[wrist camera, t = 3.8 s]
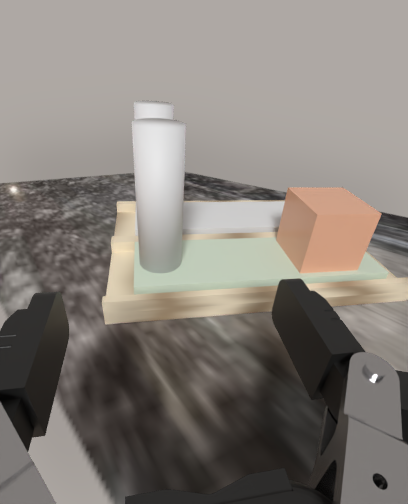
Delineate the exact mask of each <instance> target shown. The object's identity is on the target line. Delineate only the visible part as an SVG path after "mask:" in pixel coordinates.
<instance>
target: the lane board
mask: <svg viewBox="0 0 408 504" xmlns="http://www.w3.org/2000/svg"><path fill="white" fill-rule="evenodd" d="M274 201H285V200H258V201H183V202H274ZM117 212H118V213H117V220H116V227H115V235H114V236H113V237H112V239H111V247H112V257H111V264H110V271H109V279H108V286H107V294H106V296H103V299H102V306H103V312H104V319H105V324H118V323H130V322H143V321H156V320H168V319H181V318H194V317H206V316H219V315H231V314H244V313H257V312H269V311H272V307H273V303H274V299H275V295H276V292H277V288H278V286H262V287H246V288H230V289H214V290H198V291H182V292H166V293H150V294H134V253H135V242H138V236H135V213H136V201H127V202H117ZM277 234H278V232H256V233H220V234H185V235H182V240H206V239H237V238H269V237H277ZM366 252H367V251H366ZM367 253H368V252H367ZM368 254H369V253H368ZM369 255H370V256H371V257H372V258H373V259H374V260H376V259H375V258H374V257H373V256H372V255H371V254H369ZM376 261H377V260H376ZM377 262H378V263H379V264H380V265H381V266H382V267H383V268H385V267H384V266H383V265H382V264H381V263H380V262H379V261H377ZM385 269H386V268H385ZM386 270H387V271H388V272H389V273H388V275H387V277H386V279H374V280H358V281H342V282H326V283H310V284H306V286H307V287H308V288H309V290H310V291H316V292H317V293H318V294H320V295H321V296H322V297H324V298H325V299H326V300H327V301H328V303H329V304H330V305H331V307H333V306H345V305H358V304H371V303H383V302H396V301H407V300H408V277H406V278H397V277H395V276H394V275H393V274H392V273H391V272H390V271H389V270H388V269H386Z"/></svg>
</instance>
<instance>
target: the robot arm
mask: <svg viewBox="0 0 408 504" xmlns="http://www.w3.org/2000/svg"><path fill="white" fill-rule="evenodd" d="M272 319H273V322H274V325H275V327H276V329H277V331H278V333H279V335H280V337H281V339H282V341H283V343H284V345H285V347H286V349H287V351H288V353H289V355H290V357H291V359H292V361H293V363H294V366H295V368H296V370H297V372H298V374H299V376H300V378H301V380H302V382H303V384H304V386H305V388H306V390H307V392H308V394H309V396H310V398H311V400H314V399H321V398H324V400H325V402H326V404H327V405H326V407H325V410H324V416H323V422H322V427H321V433H320V439H319V444H318V450H317V456H316V461H315V465H314V468H313V471H312V474H311V477H310V480H309V484H308V486H307V485H305V484H303V483H300V482H296V481H293V480H289V479H288V476H287V473H286V470H285V468H281V469H275V470H270V471H264V472H259V473H253V474H248V475H246V476H245V477H243V478H241V479H239V480H237V481H235V482H234V483H232V484H230V485H228V486H226V487H225V488H223V489H221V490H219V491H217V492H215V493H213V494H201V493H193V492H186V491H178V490H171V489H165V490H160V491H154V492H149V493H143V494H138V495H132V496H127V497H125V504H408V372H402V371H397V370H395V369H394V368H393V367H392V366H391V365H390V364H389V363H388V362H387V361H385V360H384V359H382V358H381V357H379V356H377V355H374V354H371V353H367V352H365V351H364V349H363V348H362V347H361V345H360V344H359V343H358V341H357V340H356V339H355V337H354V336H353V335H352V333H351V332H350V331H349V329H348V328H347V327H346V325H345V324H344V323H343V321H342V320H340V317H339V316H338V315H337V313H336V312H335V311H333V308H332V307H331V305H330V304H329V303H328V301H327V300H326V299H325V298H324V297H322V296H321V295H320V294H318V293H317V292H316V291H310V290H309V288H308V287H307V286H306V284H305V283H304V281H303V280H302V279H300V278H297V279H282V280H280V281H279V284H278V288H277V292H276V295H275V299H274V303H273V307H272ZM68 339H69V324H68V319H67V315H66V311H65V307H64V303H63V299H62V295H61V293H60V292H48V293H35V294H34V295H33V297H32V300H31V302H30V304H29V306H28V309H22V310H17V311H16V312H15V313H14V314H13V315H11V316H10V317H9V318H8V319H7V320H6V321H5V323H4V324H3V326H2V328H1V331H0V504H56V502H55V501H54V499H53V497H52V495H51V493H50V492H49V490H48V488H47V486H46V484H45V482H44V480H43V479H42V477H41V475H40V473H39V471H38V470H37V468H36V466H35V464H34V462H33V461H32V459H31V457H30V456H29V454H28V450H29V446H30V443H31V439H32V437H39V436H45V433H46V429H47V425H48V421H49V417H50V413H51V409H52V405H53V401H54V397H55V393H56V389H57V385H58V381H59V377H60V373H61V368H62V364H63V360H64V356H65V352H66V348H67V344H68Z"/></svg>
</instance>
